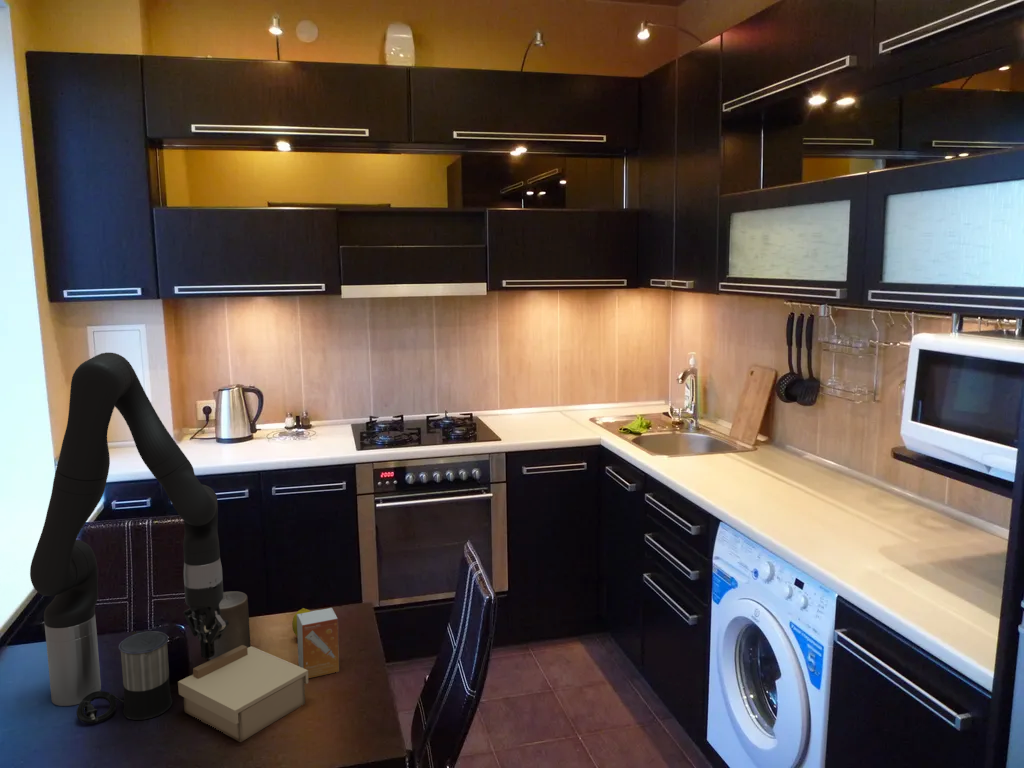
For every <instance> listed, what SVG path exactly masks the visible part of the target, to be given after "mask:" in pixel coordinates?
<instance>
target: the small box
mask: <svg viewBox="0 0 1024 768" xmlns="http://www.w3.org/2000/svg"><path fill="white" fill-rule="evenodd" d="M310 611H311V612H306V613H301V614H297V635H298V637H297V657H298V661H297V662H298V666H299V667H302V668H304V669H306V670H308V679H311V678H316V677H320V676H325V675H329V674H335V672H336V673H339V672H340V653H339V650H340V649H339V648H340V647H339V618H338V617H337V615H336V612H335V611H334V609H333V607H329V608H328V607H327V608H324V609H323V608H322V609H316V610H310Z"/></svg>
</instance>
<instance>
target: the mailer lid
mask: <svg viewBox="0 0 1024 768" xmlns="http://www.w3.org/2000/svg"><path fill="white" fill-rule="evenodd" d="M303 676H304V684H307V685H308V683H309V678H308V670H306V669H304V668H302V667H299V665H297V664H295V663H292V662H290V661H287V660H285V659H283V658H280V657H278V656H276V655H274V654H271V653H269V652H267V651H263V650H262V649H259V648H257V647H255V646H252V645H250V647H249V648H247V647H246V646H244V645H241V646H239V647H237V648H235V649H233V650H231V651H229V652H227V653H225V654H222V655H220V656H218V657H216V658H214V659H212V660H208V661H205V662H203V663H202V664H200V665H197V666H196V667H193V668H192V674H191V675H189V676H186V677H185V678H183V679H180V680H179V681H177V686H178V695H179V696H180V697H183V698H184V697H185V698H187V699H188V700H190V701H192V702H194V703H196V704H198V705H200V706H202V707H204V708H206V709H208V710H209V711H211V712H213V713H215V714H217V715H219V716H221V717H223V718H225V719H227V720H229V721H230V722H232V723H234V724H237V723H239V722H238V713H239V712H241V711H243V710H244V709H246V708H248V707H250V706H252V705H253V704H255V703H257V702H259V701H260V700H262V699H264V698H266V697H268V696H269V695H271V694H273V693H275V692H277V691H278V690H280V689H282V688H284V687H285V686H287V685H289V684H291V683H293V682H294V681H296V680H298V679H300V678H302V677H303Z"/></svg>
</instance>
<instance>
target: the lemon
mask: <svg viewBox="0 0 1024 768" xmlns="http://www.w3.org/2000/svg"><path fill="white" fill-rule="evenodd" d="M311 611H312V610H310V609H307V608H304V607H302V608H301V609H299V610H298V611H296V613H294V615H293V617H292V622H291V623H292V626H291V628H292V632H293V633H294V635H295V636H296V637H297V638H298V635H297V614H301V613H306V612H311Z"/></svg>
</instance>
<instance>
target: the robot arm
mask: <svg viewBox="0 0 1024 768" xmlns="http://www.w3.org/2000/svg"><path fill="white" fill-rule="evenodd" d="M151 402H152V401H150V399H149V397H148V396H147V393H146V392H145V389H144V387H143V385H142V383H141V381H140V379H139V377H138V375H137V373H136V371H135V369H134V368H133V366H132V365H131V362H129V361H128V359H126V358H125V357H124V356H122V355H121V354H119V353H116V352H102V353H99V354H97V355H94V356H93V357H90V359H88V360H85V361H84V362H82V363H80V365H79V366H77V368H76V369H75V370H74V372H73V374H72V377H71V383H70V392H69V403H68V404H69V405H68V406H69V407H68V416H67V423H66V428H65V432H64V435H63V439H62V443H61V447H60V451H59V452H60V453H59V457H58V461H57V464H56V467H55V471H54V472H55V473H54V478H53V482H52V488H51V493H50V494H51V495H50V499H49V502H48V505H47V510H46V514H45V515H46V516H45V519H44V523H43V527H42V530H41V533H40V536H39V539H38V542H37V544H36V548H35V550H34V554H33V556H32V559H31V563H30V569H29V570H30V571H29V578H30V582H31V584H32V587H33V588H34V590H35V591H36V592H37V593H38V594H40V595H42V596H45V597H54V598H53V599H52V601H51V602H50V603H49V604H48V605H47V606H46V608H45V610H44V612H43V622H44V623H43V624H44V631H45V632H44V634H45V644H46V653H47V654H46V655H47V665H48V673H49V674H48V675H49V686H50V696H51V703H52V704H53V705H56V706H60V707H68V706H76V705H79V704H80V702H81V701H82V700H83V699H84V698H85V697H86V696H87V695H89V694H90V693H93V692H96V691H102V681H101V669H100V660H99V659H100V658H99V644H98V634H97V633H98V631H97V622H96V612H95V611H96V609H95V608H96V605H97V602H98V598H99V588H98V587H99V586H98V584H99V582H98V579H99V577H98V576H99V574H98V563H97V557H96V555H95V552H94V550H93V549H92V547H91V546H90V545H89V544H88V543H87V542H85V541H83V540H81V539H80V540H78V539H77V538H78V536H79V534H80V533H81V530H82V529H83V527H84V526H85V524H86V523H87V521H88V520H89V519H90V517H91V516H92V515H93V513H94V511H95V510H96V508H97V507H98V505H99V504H100V502H101V500H102V497H103V495H104V493H105V488H106V486H107V481H108V477H109V471H110V463H111V460H110V457H111V456H110V449H109V443H108V430H109V426H110V422H111V419H112V416H113V413H114V410H115V408H116V409H117V410H118V412H119V413H120V415H121V416H122V418H123V419H124V421H125V423H126V425H127V427H128V429H129V431H130V434H131V436H132V440H133V441H134V444H135V447H136V450H137V451H138V455H139V456H140V458H141V460H142V462H143V463H144V464H145V466H146V467H147V469H148V470H149V471H150V472H151V474H152V476H153V477H154V478H155V479H156V481H157V482H158V483H159V484H160V485H161V486H162V488H163V490H164V491H165V493H166V495H167V497H168V499H169V501H170V503H171V504H172V507H173V508H174V509H175V512H176V513H177V514H178V515H179V517H180V518H181V519H182V520H183V525H184V537H183V541H182V542H183V543H182V546H183V547H182V548H183V551H182V552H183V583H184V585H183V586H184V600H185V601H184V602H185V605H186V606H188V607H189V608H188V609H185V610H184V611H183V613H182V614H183V616H184V618H185V620H186V623H187V625H188V627H189V629H190V631H191V633H192V636H194V637H197V639H198V641H199V642H200V645H199V646H200V654H201V657H202V658H203V659H206V660H209V658H210V657H212V656H214V653H215V649H214V641H215V640H217V639H220V638H221V637H222V635H223V633H224V632H225V630H226V628H227V627H228V625H229V622H228V620H225V621H223V619H222V618H221V616H220V615H221V610H220V607H219V603H220V602H221V600H222V599H223V592H224V583H223V582H224V581H223V567H222V562H221V554H220V553H221V552H220V540H219V534H218V532H219V531H218V520H219V519H218V517H219V515H218V514H219V513H218V511H219V510H218V508H219V506H218V502H219V501H218V497H217V494H216V492H215V490H214V489H213V488H212V487H210V486H208V485H205V484H202V483H201V482H200V480H199V479H198V477H197V476H196V474H195V470H194V467H193V465H192V463H191V461H190V460H189V459H188V457H187V456H186V455H185V453H184V452H183V450H182V449H181V448H180V446H179V445H178V444H177V442H176V441H175V439H174V438H173V437H172V435H171V434H170V433H169V431H168V429H167V428H166V426H165V425H164V424H163V422H162V420H161V418H160V417H159V415H158V413H157V412H156V410H155V408H154V406H153V404H152V403H151Z"/></svg>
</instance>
